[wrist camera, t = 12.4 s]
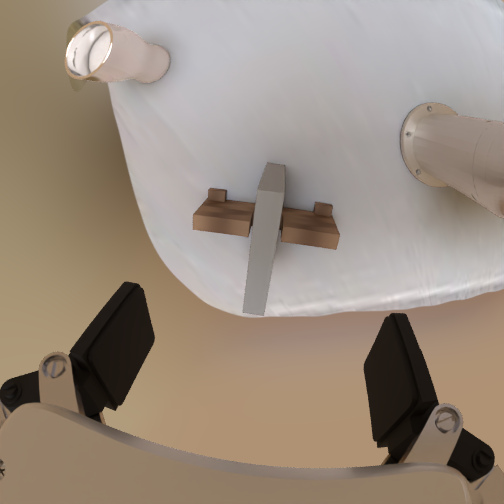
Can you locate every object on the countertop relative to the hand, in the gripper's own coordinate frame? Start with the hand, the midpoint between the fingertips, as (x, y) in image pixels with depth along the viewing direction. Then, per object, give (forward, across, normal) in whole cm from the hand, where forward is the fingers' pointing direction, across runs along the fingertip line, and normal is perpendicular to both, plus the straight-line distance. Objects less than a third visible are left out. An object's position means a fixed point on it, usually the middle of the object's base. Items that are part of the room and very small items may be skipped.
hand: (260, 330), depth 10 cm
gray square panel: (+30, +2, +6) cm, 31 cm away
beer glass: (+30, +20, -15) cm, 39 cm away
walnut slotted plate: (+30, +2, +7) cm, 31 cm away
